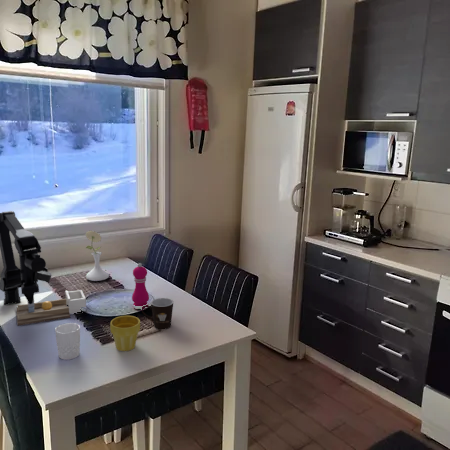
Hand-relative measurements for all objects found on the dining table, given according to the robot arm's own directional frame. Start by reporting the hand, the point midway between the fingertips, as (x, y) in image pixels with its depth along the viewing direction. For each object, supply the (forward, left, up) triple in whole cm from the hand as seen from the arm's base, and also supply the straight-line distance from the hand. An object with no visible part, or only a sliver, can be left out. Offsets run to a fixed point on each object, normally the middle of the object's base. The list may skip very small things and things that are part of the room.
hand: (30, 302), depth 181 cm
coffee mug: (+29, +45, -6) cm, 54 cm away
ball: (0, +6, -2) cm, 6 cm away
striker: (0, 0, -4) cm, 4 cm away
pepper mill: (+9, +43, -6) cm, 44 cm away
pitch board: (0, +4, -6) cm, 7 cm away
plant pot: (+41, +29, -6) cm, 51 cm away
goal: (0, +17, -6) cm, 18 cm away
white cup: (+39, +10, -6) cm, 41 cm away
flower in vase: (-35, +32, -6) cm, 47 cm away
